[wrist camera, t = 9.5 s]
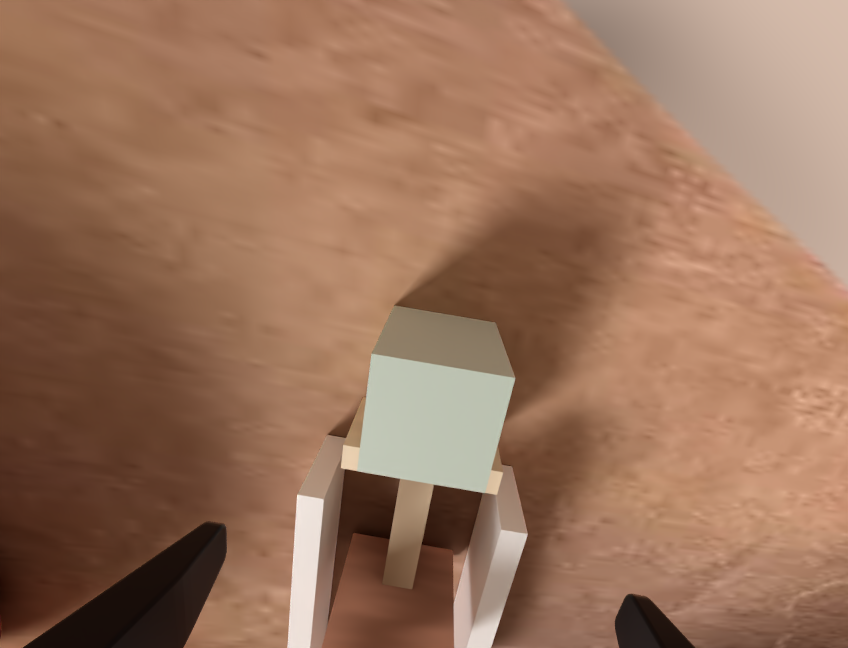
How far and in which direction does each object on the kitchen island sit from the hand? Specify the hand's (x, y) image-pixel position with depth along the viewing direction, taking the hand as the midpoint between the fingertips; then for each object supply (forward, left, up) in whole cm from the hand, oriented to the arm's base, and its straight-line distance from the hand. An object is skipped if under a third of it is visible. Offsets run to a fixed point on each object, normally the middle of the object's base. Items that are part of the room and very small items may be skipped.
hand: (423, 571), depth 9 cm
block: (0, 0, -12) cm, 12 cm away
